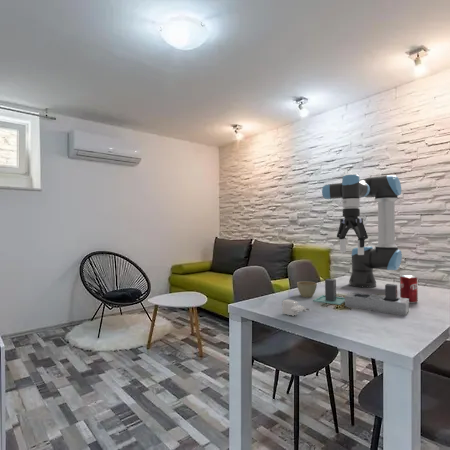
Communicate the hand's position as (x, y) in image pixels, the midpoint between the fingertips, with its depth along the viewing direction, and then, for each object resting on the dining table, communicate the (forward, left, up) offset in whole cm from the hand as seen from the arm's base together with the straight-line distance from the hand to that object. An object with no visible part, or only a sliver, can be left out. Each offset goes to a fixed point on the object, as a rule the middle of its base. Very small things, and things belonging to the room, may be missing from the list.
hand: (351, 253), depth 148 cm
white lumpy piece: (+32, -14, -24) cm, 42 cm away
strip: (-2, +11, -23) cm, 26 cm away
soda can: (-19, +21, -24) cm, 37 cm away
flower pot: (-2, -23, -24) cm, 33 cm away
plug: (0, -10, -23) cm, 25 cm away
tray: (0, -10, -24) cm, 26 cm away
